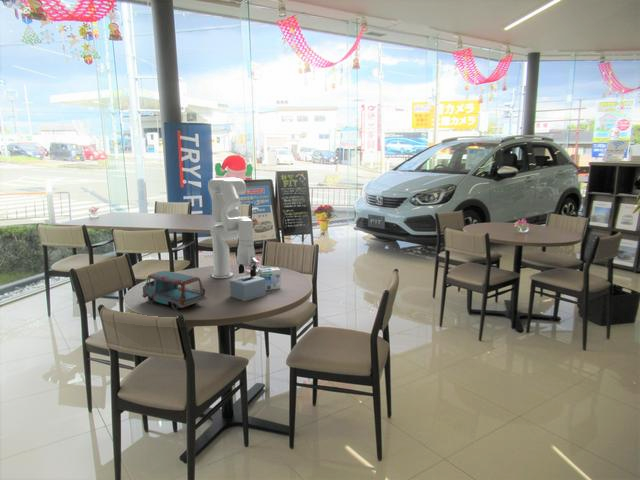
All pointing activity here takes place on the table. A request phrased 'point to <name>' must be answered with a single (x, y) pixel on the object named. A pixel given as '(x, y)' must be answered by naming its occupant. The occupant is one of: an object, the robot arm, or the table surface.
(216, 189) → the robot arm
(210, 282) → the table surface
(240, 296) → the box
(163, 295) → the toy van
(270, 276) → the light bulb box
